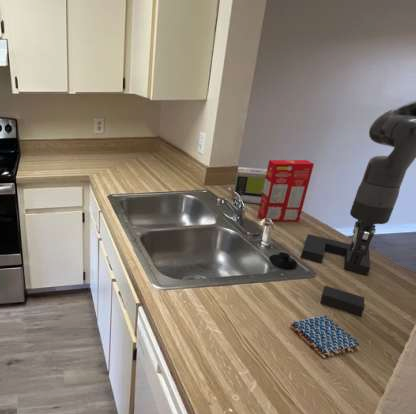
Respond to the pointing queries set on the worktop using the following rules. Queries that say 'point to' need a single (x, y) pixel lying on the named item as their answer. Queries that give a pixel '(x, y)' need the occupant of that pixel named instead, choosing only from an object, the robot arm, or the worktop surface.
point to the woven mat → (324, 336)
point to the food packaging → (285, 190)
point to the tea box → (250, 184)
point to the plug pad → (343, 300)
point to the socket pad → (318, 245)
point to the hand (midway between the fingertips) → (353, 258)
